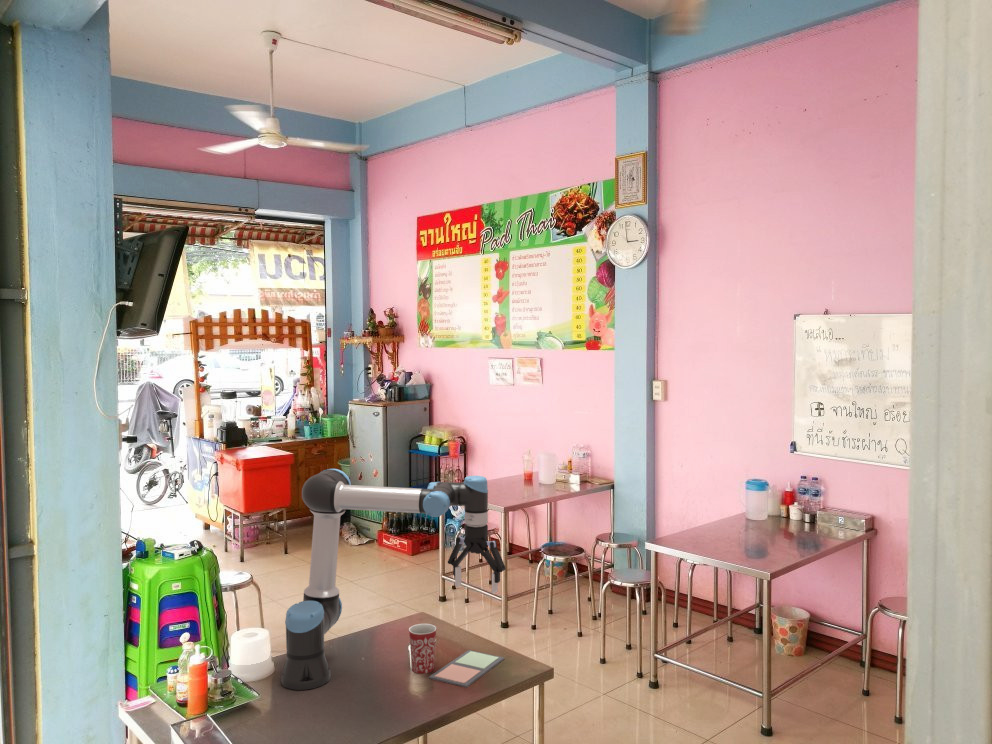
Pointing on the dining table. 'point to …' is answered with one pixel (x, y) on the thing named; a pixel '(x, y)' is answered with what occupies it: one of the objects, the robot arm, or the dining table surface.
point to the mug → (422, 647)
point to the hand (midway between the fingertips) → (476, 589)
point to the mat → (466, 668)
